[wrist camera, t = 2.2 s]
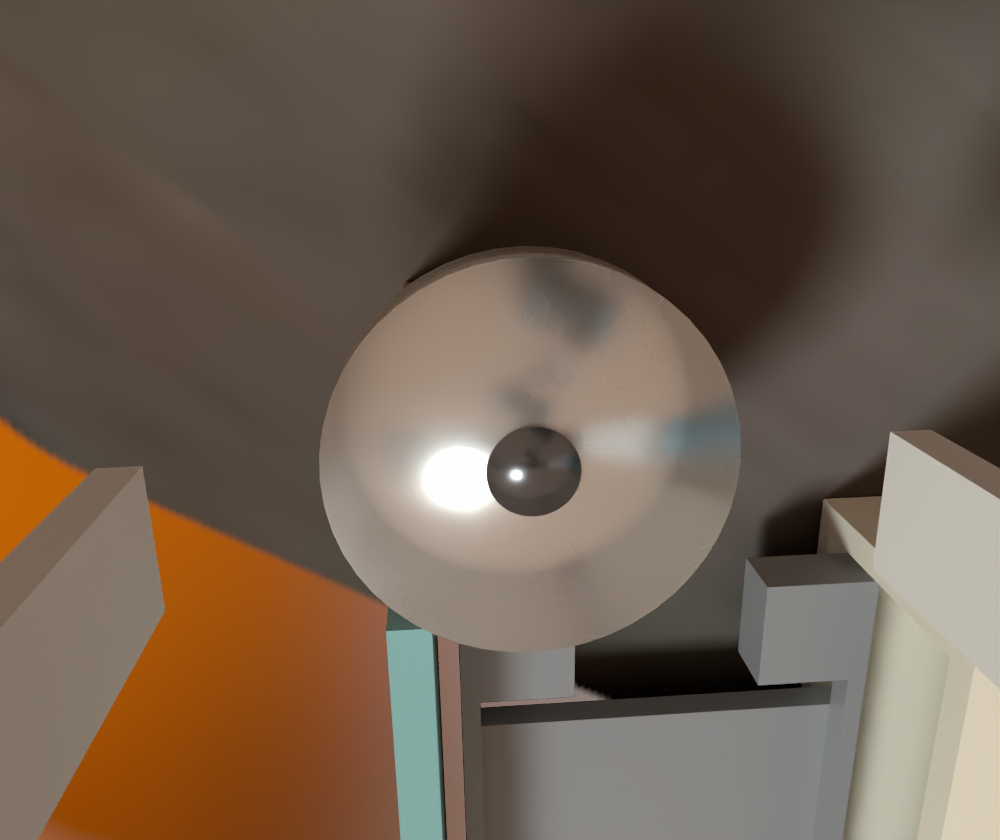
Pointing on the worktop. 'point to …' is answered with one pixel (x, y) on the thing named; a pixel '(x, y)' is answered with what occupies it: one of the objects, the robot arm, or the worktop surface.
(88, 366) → the worktop surface
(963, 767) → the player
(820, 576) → the teal grey flat block
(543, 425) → the disc
